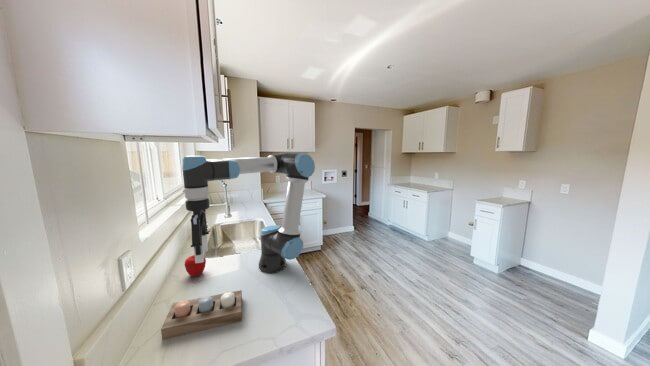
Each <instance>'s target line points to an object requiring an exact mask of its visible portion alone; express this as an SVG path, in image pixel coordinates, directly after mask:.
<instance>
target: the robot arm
mask: <svg viewBox="0 0 650 366" xmlns="http://www.w3.org/2000/svg"><path fill="white" fill-rule="evenodd" d="M181 163H182V164H181V165H182V166H181V170H182V177H183V184H184V187H183V188H184V189H183V190H182V193H184V198H185V209H186V210H187V211H189V212H192V214H191V218H190V224H191V245H190V248H193V252H194V253H193V254H194V255H195V263H202V262H204V257H205V255H204V252H208V251H209V247H208V246H209V245H208V244H209V243H208V235H210V231H208V230H209V229H208V222H207V215H206V213H207V212H206V210H208V209H210V197H209V196H210V193H209V182H211V181H212V182H213V181H225V180H234V179H237V178H239V176H240V175H245V174H254V173H255V174H257V173H266V172H267V173H270V174H284V175H285V178H286V179H287V182H288V183H287V188H286V196H285V202H284V208H283V209H284V210H283V215H282V221H281V222H282V223H281V225H278V224H274V225H267V226H264V227H263V228H261V230H260V247H261V248H260V250H261V252H260V253H261V254H260V257H259V261H258V270H259V269H260V270H261V271H260V270H259V271H260V272H263V273H265V272H266V273H265V274H267V273H268V274H272V273H273V272H274V273H278V272H280V270H281V269H282V270H284V269H285V268H286V266H287V261H286V260H290V261H291V260H295V259H296V258H298V257H299V255H300V254H301V253H302V251H303V249H304V241H303V239H302V238H301V231H300V230H299V226H300V219H301V213H302V207H303V206H302V205H303V201H304V200H303V198H304V192H305V185H306V183H308V182H309V180H310V179H309V178H310V177H312V175H314V172H315V170H316V165H315V161H314V159H313V157H312V156H311V155H310V154H307V153H302V152H295V153H293V152H287V153H280V154H278V153H277V154H270V155H268V156H263V157H238V158H237V157H236V158H235V157H233V158H207V157H206V156H205V155H185V156H183V157H182V159H181ZM285 265H286V266H285ZM284 267H285V268H284ZM283 268H284V269H283ZM282 270H281V271H282ZM277 271H278V272H277Z"/></svg>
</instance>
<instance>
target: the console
mask: <svg viewBox="0 0 650 366" xmlns="http://www.w3.org/2000/svg"><path fill="white" fill-rule="evenodd" d="M231 292H232V293H234V297H235V306H233V307H229V308H224V309H222V306H221V296H222V295H223V294H225V293H226V292H225V293H219V294H215V295H213V294H212V295H210V296H211V297H212V298H213V309H214V310H213V311H209V312H205V313H200V314H199V305H198V302H199V300H200V299H201V298H202V297H198V298H193V299H189V300H187V299H186V301H189V302H190V310H191V314H190V316H186V317H181V318H176V319H175V310H174V306H175V305H176V304H177V303H179V302H180V301H178V302H173V303H172V305H171V307H170V308H169V311H168V313H167V315H166V317H165V320H164V321H163V324H162V326H161V327H160V332H161V339H162V340H165V339H170V338H175V337H177V336H182V335H186V334H190V333H196V332H200V331H203V330H208V329H213V328H216V327H220V326H226V325H230V324H235V323H239V322H242V313H243V312H242V311H243V310H242V309H243V293H242V290H241V289H240V290H236V291H231Z"/></svg>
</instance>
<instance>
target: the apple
mask: <svg viewBox="0 0 650 366" xmlns="http://www.w3.org/2000/svg"><path fill="white" fill-rule="evenodd" d="M206 263H207V259H206V257H205V256H204V262H202V263H195V255H190V256H188V257H187V258H186V259H185V261H184V268H185V270H186V272H187V274H188V275H189V276H191V277H194V278H195V277H198V276H200V275H201V274H202V273H203V272H205V271H204V270H205V268H206Z"/></svg>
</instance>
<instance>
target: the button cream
mask: <svg viewBox="0 0 650 366" xmlns="http://www.w3.org/2000/svg"><path fill="white" fill-rule="evenodd" d="M232 292H233V291H228V292H225V294H224V293H222V294H223V295H222V296H221V306H222V308H221V309H224V308H229V307H233V306H235V297H234V293H232Z"/></svg>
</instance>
